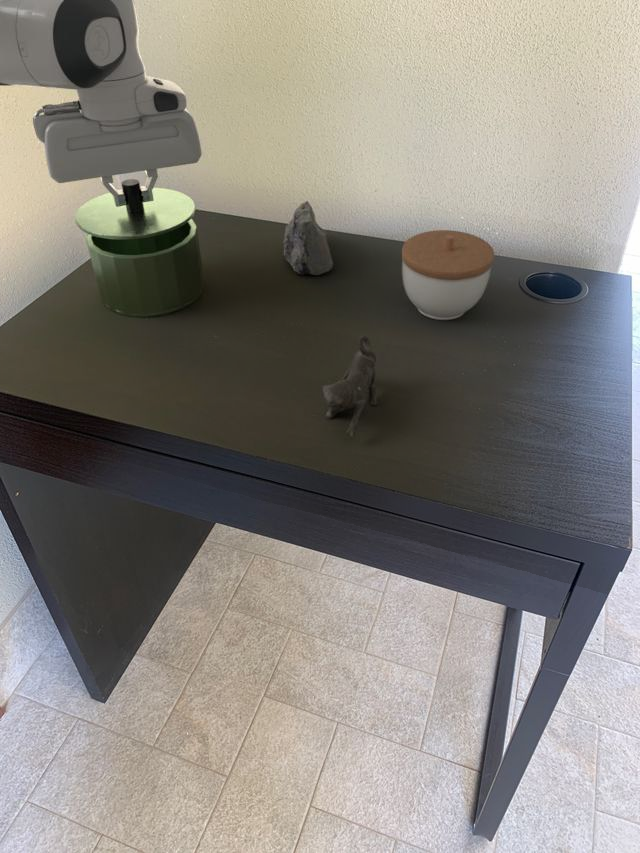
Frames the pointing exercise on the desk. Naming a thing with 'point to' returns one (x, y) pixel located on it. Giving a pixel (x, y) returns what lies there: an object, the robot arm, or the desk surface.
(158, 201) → the tin lid
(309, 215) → the mineral rock
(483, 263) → the lidded bowl
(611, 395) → the desk surface
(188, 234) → the waste tin
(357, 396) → the dog figurine
